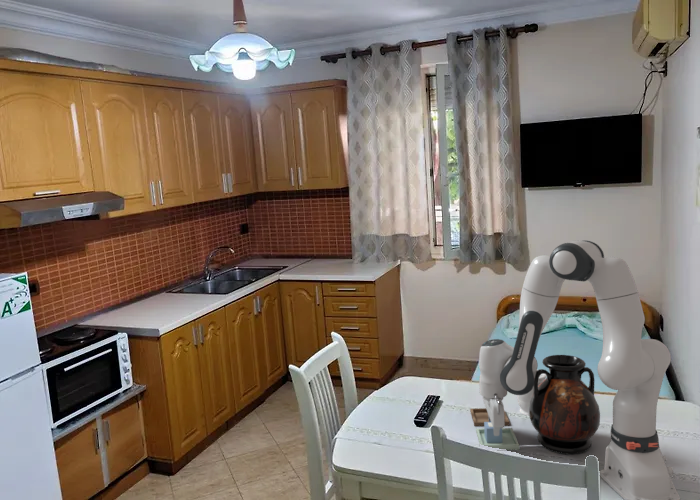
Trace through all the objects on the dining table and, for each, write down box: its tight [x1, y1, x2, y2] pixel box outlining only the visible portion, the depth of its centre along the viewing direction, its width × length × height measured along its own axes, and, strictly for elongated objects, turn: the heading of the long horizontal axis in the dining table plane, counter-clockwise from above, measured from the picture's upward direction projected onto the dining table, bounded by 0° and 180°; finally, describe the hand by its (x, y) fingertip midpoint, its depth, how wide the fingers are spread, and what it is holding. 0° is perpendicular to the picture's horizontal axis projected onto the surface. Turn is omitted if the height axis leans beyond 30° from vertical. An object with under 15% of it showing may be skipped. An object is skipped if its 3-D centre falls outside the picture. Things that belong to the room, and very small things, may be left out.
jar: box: [516, 369, 547, 416], centre depth 211 cm, size 11×10×15 cm
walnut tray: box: [469, 407, 510, 427], centre depth 208 cm, size 12×12×2 cm
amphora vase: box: [529, 354, 601, 455], centre depth 186 cm, size 22×22×28 cm
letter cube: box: [483, 422, 502, 443], centre depth 192 cm, size 5×5×5 cm
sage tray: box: [475, 427, 520, 451], centre depth 192 cm, size 12×12×2 cm
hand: (493, 428), depth 192 cm, fingers open, 8 cm apart
